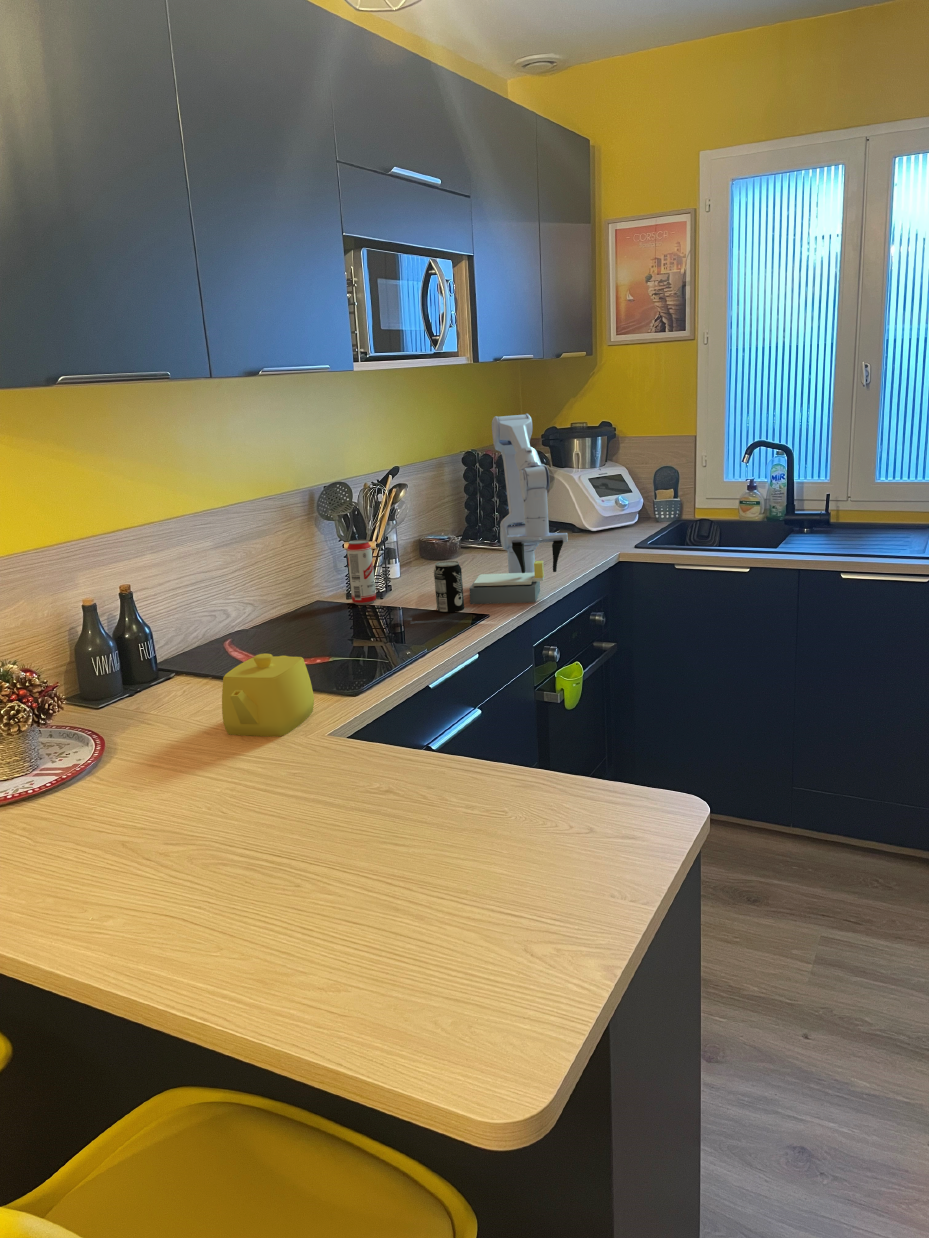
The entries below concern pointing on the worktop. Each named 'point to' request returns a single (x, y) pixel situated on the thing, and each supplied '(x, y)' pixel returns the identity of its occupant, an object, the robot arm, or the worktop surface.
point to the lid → (512, 577)
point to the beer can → (361, 572)
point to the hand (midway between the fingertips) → (539, 571)
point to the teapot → (266, 696)
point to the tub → (504, 594)
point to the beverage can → (448, 587)
